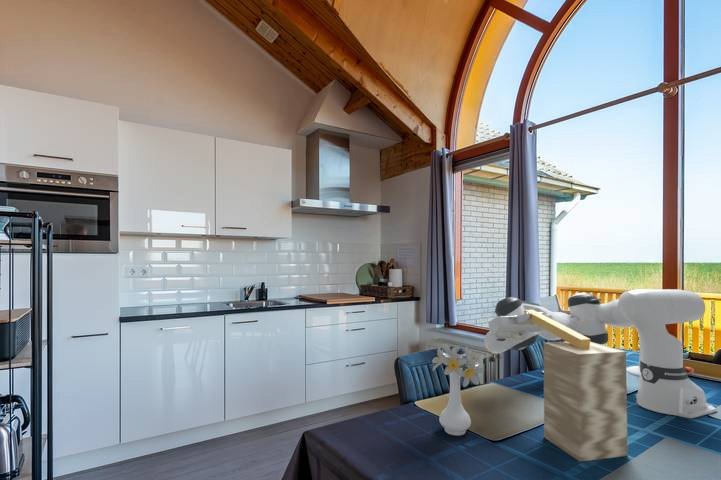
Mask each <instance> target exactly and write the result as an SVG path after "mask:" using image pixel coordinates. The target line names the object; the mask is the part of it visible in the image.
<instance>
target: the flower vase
mask: <svg viewBox="0 0 721 480" xmlns="http://www.w3.org/2000/svg"><path fill="white" fill-rule="evenodd" d="M460 349H461V348H460V346H459V345H455V346H453V347H452V348H451V347H450V345H448V344H447V343H443V344H442V349H441V347H438V348H437V350H436V352H437V353H436V354H437V356H435V357H433V359H432V361H431V362H432V364H435V365H434V366H433V368H432V371H433V372H434V371H435V370H436V369H437V368H438V367H439V366H441V365H442V364H443V365H445V366H446V367H445V369H444V375H446V376H449V398H448V402H447V405H446V407H445V408H443V410H441V413H440V414H439V419H438V420H439V423H440V424H441V426H442V427H443V428H444V432H445V433H447V434H448V435H451V436H463V435H465V434H466V431H467V430H468V429H469V428H470V427H471V424H472V420H471V416H470V414H469V413H468V412H467V411H466V410H465V408H464V406H463V403H462V399H461V397H462V396H461V377H462V378H463V382H462V387H463V388H466V387H467V386H469V384H470V381H471V382H472V383H473V385H476V386H477V385H480V379H479V377H478V376H477V375H479V376H481V374H482V373H484V370H485V368H484V367H479V365H480V363H479V361H478V360H477V356H476V355H475V354H473V351H472V350H471V349H470V350H469V348H468V346H466V347H465V350H464V353H462V354H459V353H458V352H459V351H460Z"/></svg>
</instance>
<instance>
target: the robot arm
mask: <svg viewBox="0 0 721 480" xmlns="http://www.w3.org/2000/svg"><path fill="white" fill-rule="evenodd" d="M600 301H602V298H598V297H597V296H596V295H594V294H592V293H587V292H577V293H575V294H572V295H571V296H570V297H569V298H568V299H567V307H568V309H569V314H568V313H566V312H561V311H551V310H549V309H547V308H546V307H544V306H542V305H540V304H539V303H535V302H531V301H526V300H521V299H519V298H517V297H513V296H509V297H505V298H502V299H500V300H499V301H498V302H497V303H496V305H495V308H494V313H495V315H496V317H494V318H493V319H492V320H489V321H488V328H489V331H488V332H487V333H486V334H485V336H484V340H483V343H484V345H485V347H486V349H487V350H488V351H489V352H490V353H492V354H496V355H497V354H501V353H504V352H506V351H508V350H511V351H515V352H516V351H517V352H518V351H519V352H520V351H523V350H525V349H527V348H529V347H530V346H531V345H534V344H535V343H537V341H538V337H541V338H543V339H544V340H548V341H558V340H562V339H561V338H560V337H558V336H556V335H554V334H552V333H551V332H549V331H547V330H545V329H543V328H542V327H540V326H538V325H536V324H535V323H533V322H531V321H529V319H531V318H532V315H531V313H525V314H524V310H535V311H536V312H538V313H540V314H542V315H544V316H546V317H548V318H550V319H552V320H554V321H556V322H558V323H560V324H562V325H564V326H566V327H568V328H570V329H572V330H574V331H576V332H578V333H580V334H582V335H583V336H585V337H587V338H589V339H591V340H590V342H594V343H597V344H601V345H604V346H605V344H607V343H608V342H609V333H608V332H607V328H606V324H607V326H610V327H613V328H621V329H623V328H625V329H626V328H635V330H636V332H637V334H638V337H639V344H640V343H641V361H640V372H641V375H640V376H639V378H638V380H639V381H638V389H637V393H636V394H635V398H636V404H637V405H638V406H640V407H642V408H644V409H646V410H649V411H653V412H656V413H659V414H665V415H669V416H671V415H673V416H678V417H682V418H687V419H694V418H699V417H703V416H705V415H709V414H713V413H716V412H717V408H716V407H715V406H713V405H711V404H709V403H707V397H706V393H705V391H704V389H702V387H700V386H698V385H697V384H696V383H695V382H693V381H692V380H691V379H690V378H689V376H688V374H689V375H694V373H695V369H694V368H693V367H689V366H684V361H683V360H684V356H683V354H684V352H683V348H684V347H683V344H682V342H681V340H680V339H679V338H677V337H676V336H674V335H673V334H670V333H669V331H668V330H667V328H666V325H670V324H681V323H682V324H684V323H690V322H695V321H699V320H701V319H702V318H703V317H704V315H705V312H706V303H705V301H704V299H703V297H701V295H700V294H698V293H696V292H694V291H689V290H686V289H685V290H683V289H676V288H675V289H670V288H667V289H662V288H659V289H658V288H654V289H653V288H652V289H651V288H638V289H632V290H626V291H624V292H623V293H621V294H620V296H619V297H618V298H617V299H616V298H615V299H614V300H611V301H609V302H606V303H602V302H600Z"/></svg>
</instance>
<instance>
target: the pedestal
mask: <svg viewBox="0 0 721 480" xmlns="http://www.w3.org/2000/svg"><path fill="white" fill-rule="evenodd" d="M626 369H627V351H625V350H622V349H618V348H614V347H610V346H607V345H605V344H604V345H601V344H597V343H594V342H590V347H589V348H583V349H579V348H577V347H576V346H574V345H572V344H570V343H568V342H567V341H548V342H543V418H544V419H543V423H544V424H543V425H544V427H543V431H544V434H543V435H544V437H545V438H544V439H546V440H548V441H549V442H550V443H552V444H553V445H554V446H556V447H557V448H559V449H561V450H562V451H563V452H565V453H566V454H568V455H570V456H571V457H572V458H573V459H575V460H577V461H578V462H579V463H580V462H588V461H589V462H590V461H596V460H604V459H605V460H606V459H613V458H620V457H621V458H622V457H628V454H629V453H628V399H627V397H628V395H627V392H628V391H627V388H628V387H627V372H626Z"/></svg>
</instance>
